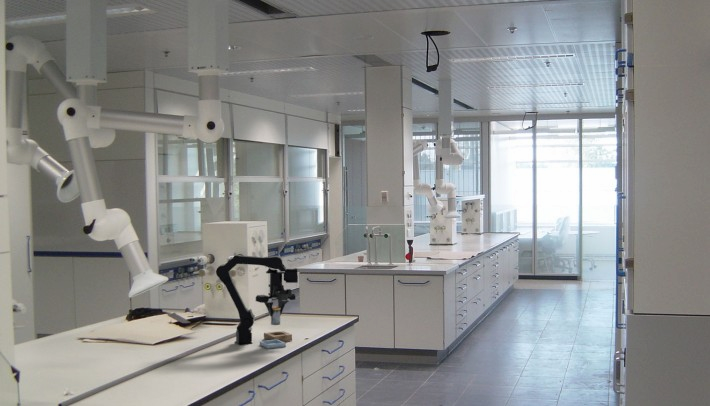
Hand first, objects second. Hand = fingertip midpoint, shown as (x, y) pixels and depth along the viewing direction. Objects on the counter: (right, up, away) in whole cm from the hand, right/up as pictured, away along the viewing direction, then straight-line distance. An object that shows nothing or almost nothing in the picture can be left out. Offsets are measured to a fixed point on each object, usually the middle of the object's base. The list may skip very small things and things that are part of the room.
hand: (275, 315), depth 345 cm
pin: (0, -4, 0) cm, 4 cm away
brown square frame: (0, -13, +7) cm, 14 cm away
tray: (-1, -13, -6) cm, 15 cm away
